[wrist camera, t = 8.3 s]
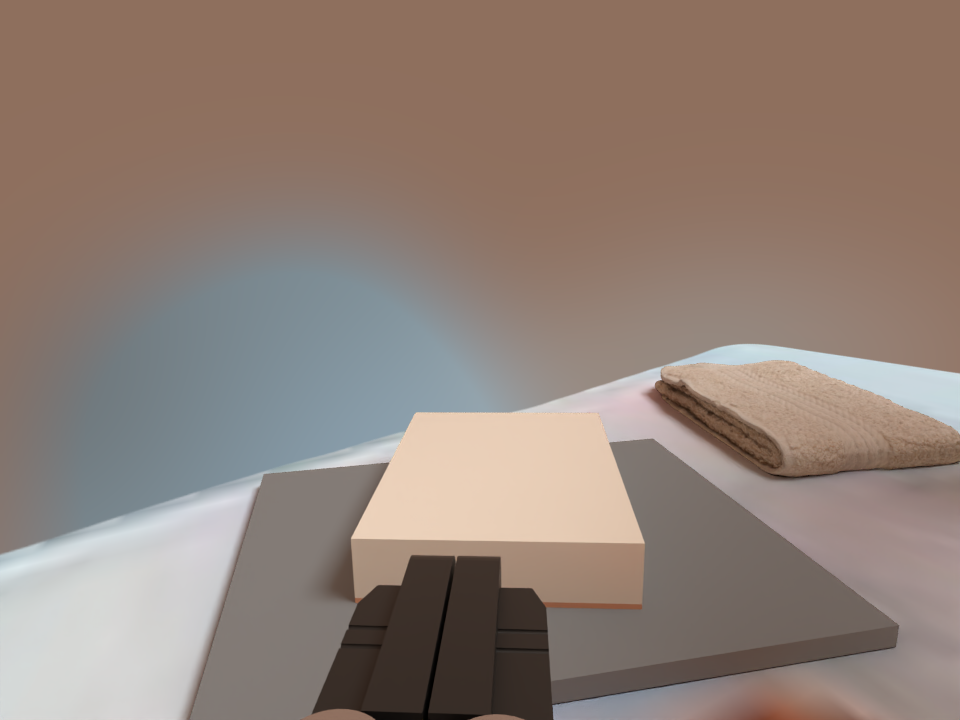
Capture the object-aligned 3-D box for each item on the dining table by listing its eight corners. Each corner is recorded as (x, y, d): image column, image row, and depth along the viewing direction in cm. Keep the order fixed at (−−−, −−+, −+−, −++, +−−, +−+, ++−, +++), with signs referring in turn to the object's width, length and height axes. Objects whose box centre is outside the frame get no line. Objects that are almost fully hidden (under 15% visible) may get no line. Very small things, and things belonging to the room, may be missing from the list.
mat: (652, 451, 39) (652, 438, 39) (895, 646, 22) (899, 625, 21) (265, 488, 35) (263, 474, 35) (186, 765, 18) (182, 740, 17)
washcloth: (781, 386, 53) (784, 349, 53) (977, 473, 36) (986, 420, 36) (643, 396, 52) (644, 357, 51) (780, 491, 34) (785, 436, 34)
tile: (641, 609, 23) (597, 456, 36) (644, 543, 22) (598, 413, 36) (355, 603, 23) (417, 454, 37) (350, 538, 23) (415, 412, 36)
